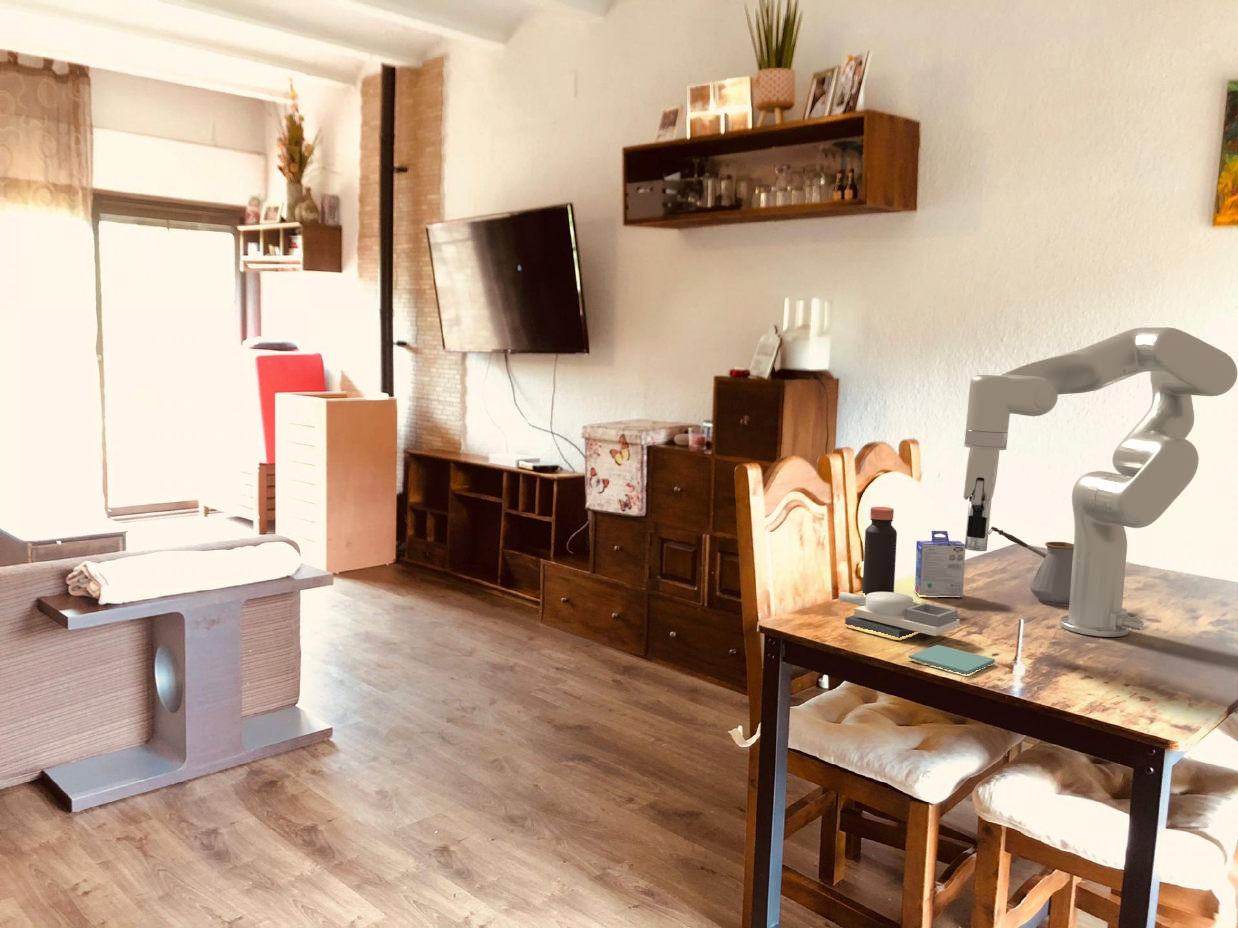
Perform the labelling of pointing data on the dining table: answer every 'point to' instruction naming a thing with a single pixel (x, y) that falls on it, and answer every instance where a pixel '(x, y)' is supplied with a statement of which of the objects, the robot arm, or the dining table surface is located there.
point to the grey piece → (978, 543)
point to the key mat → (952, 659)
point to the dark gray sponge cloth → (877, 626)
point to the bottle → (880, 552)
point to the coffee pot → (1050, 571)
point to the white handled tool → (903, 612)
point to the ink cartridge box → (940, 566)
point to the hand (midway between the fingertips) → (977, 534)
